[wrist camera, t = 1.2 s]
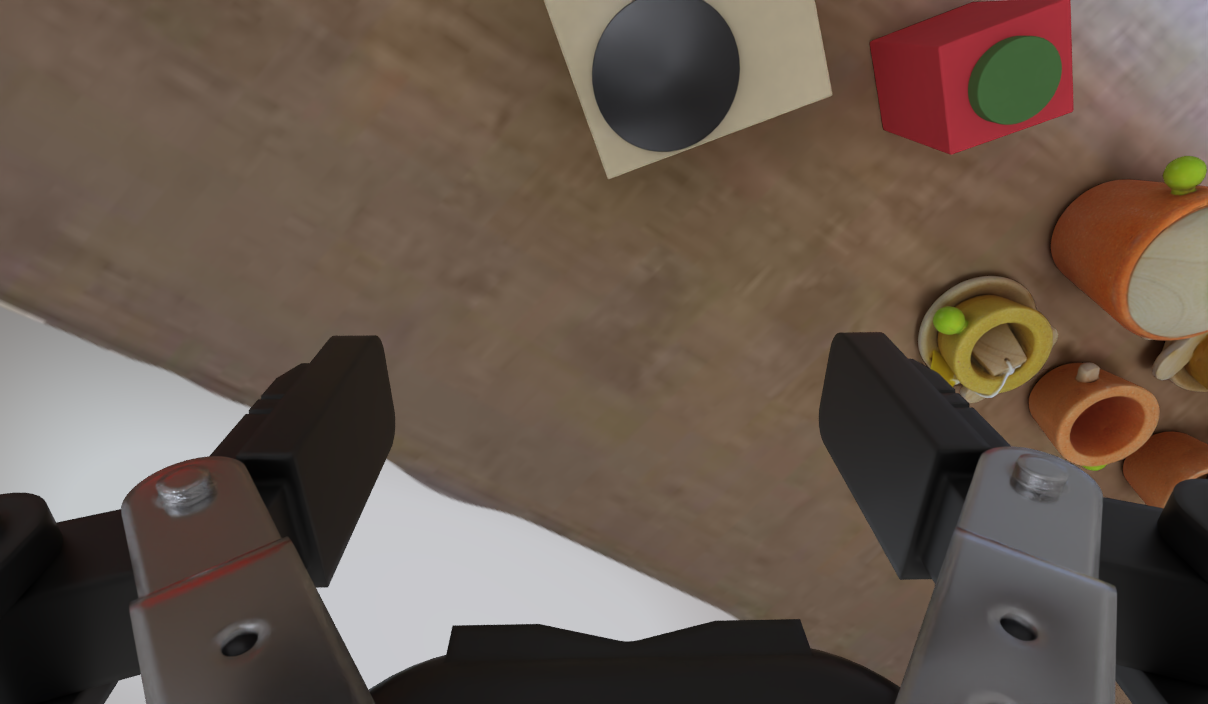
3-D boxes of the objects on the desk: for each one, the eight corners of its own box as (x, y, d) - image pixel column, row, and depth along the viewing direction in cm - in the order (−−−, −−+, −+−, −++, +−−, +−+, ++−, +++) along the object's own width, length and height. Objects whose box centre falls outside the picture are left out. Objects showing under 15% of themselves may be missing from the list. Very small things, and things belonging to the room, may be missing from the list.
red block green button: (868, 41, 31) (948, 47, 25) (973, 1, 31) (1085, -5, 24) (882, 130, 33) (960, 159, 26) (981, 94, 33) (1088, 114, 26)
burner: (569, 26, 28) (569, 26, 28) (716, -34, 27) (717, -35, 27) (620, 170, 31) (620, 172, 31) (753, 120, 30) (755, 122, 30)
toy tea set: (873, 336, 39) (954, 426, 30) (1090, 109, 33) (1266, 140, 25) (1135, 520, 46) (1260, 635, 37) (1350, 359, 40) (1557, 451, 32)
